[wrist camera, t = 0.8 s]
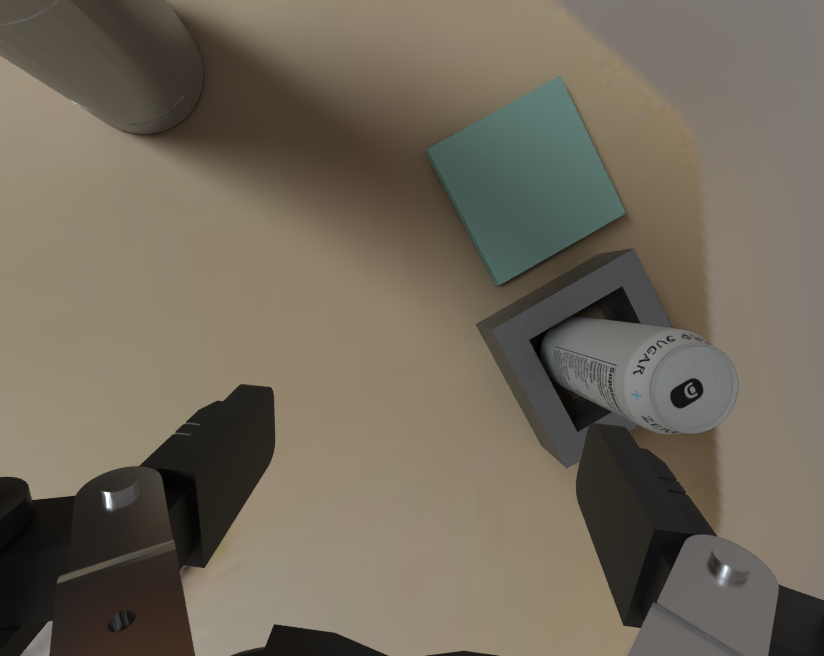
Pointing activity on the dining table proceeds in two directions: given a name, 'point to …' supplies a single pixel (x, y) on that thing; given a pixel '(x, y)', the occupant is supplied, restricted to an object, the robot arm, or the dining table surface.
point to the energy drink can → (643, 372)
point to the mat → (526, 181)
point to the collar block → (545, 307)
